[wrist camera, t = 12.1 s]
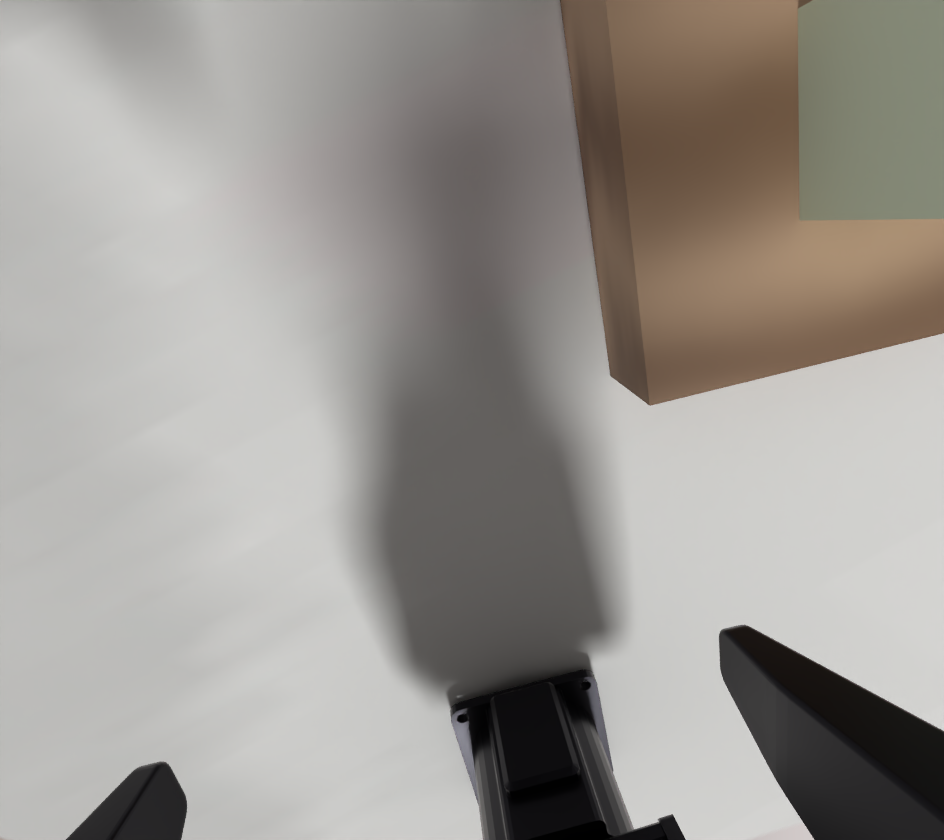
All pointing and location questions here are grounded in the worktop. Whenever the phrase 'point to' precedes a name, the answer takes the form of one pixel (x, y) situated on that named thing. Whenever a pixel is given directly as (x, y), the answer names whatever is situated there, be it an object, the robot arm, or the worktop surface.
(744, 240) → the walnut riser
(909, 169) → the sage block
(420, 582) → the worktop surface
